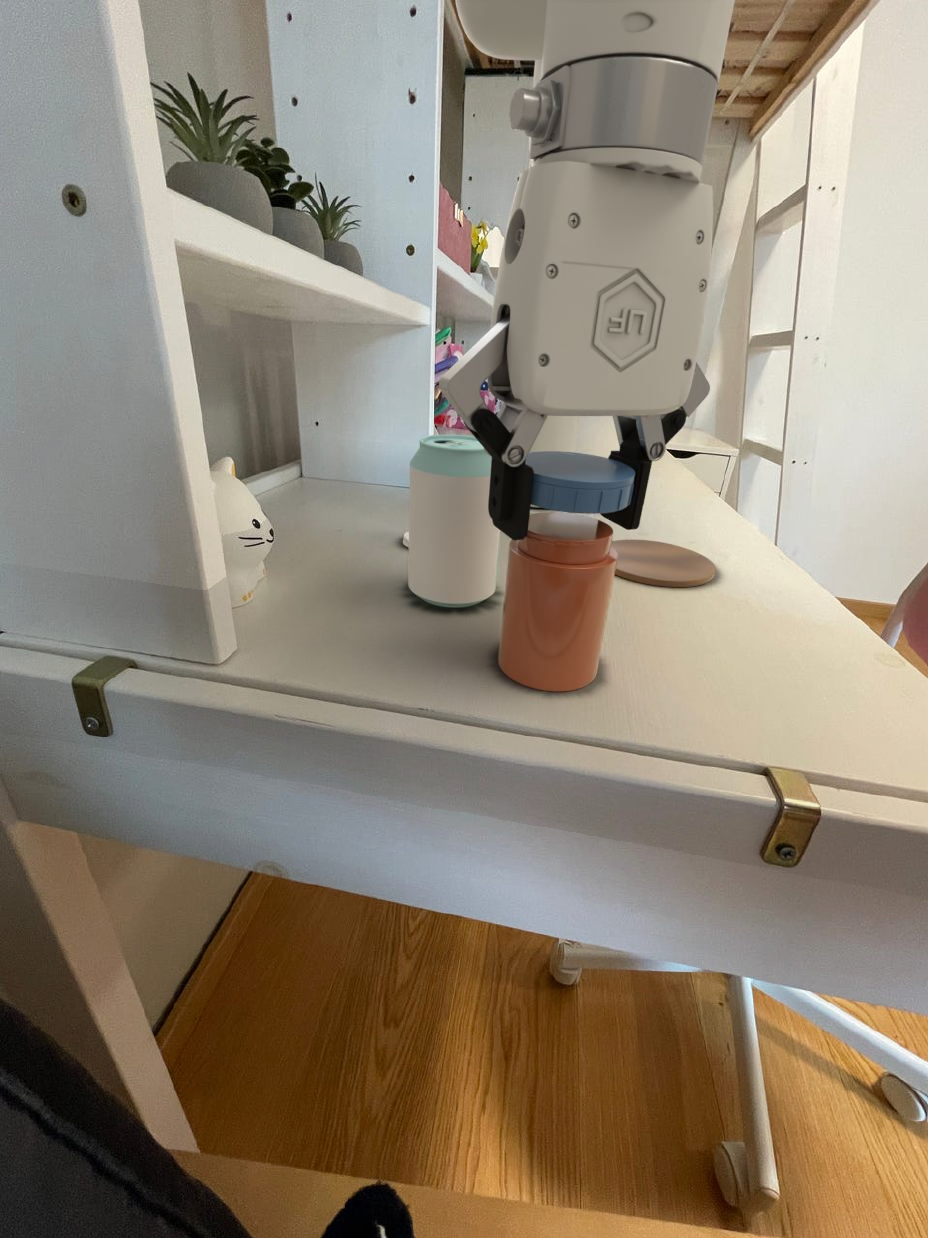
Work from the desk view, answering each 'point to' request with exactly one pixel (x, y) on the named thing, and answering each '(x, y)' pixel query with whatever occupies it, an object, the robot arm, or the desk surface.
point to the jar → (557, 601)
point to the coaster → (661, 564)
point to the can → (451, 522)
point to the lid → (579, 482)
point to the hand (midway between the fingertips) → (565, 524)
